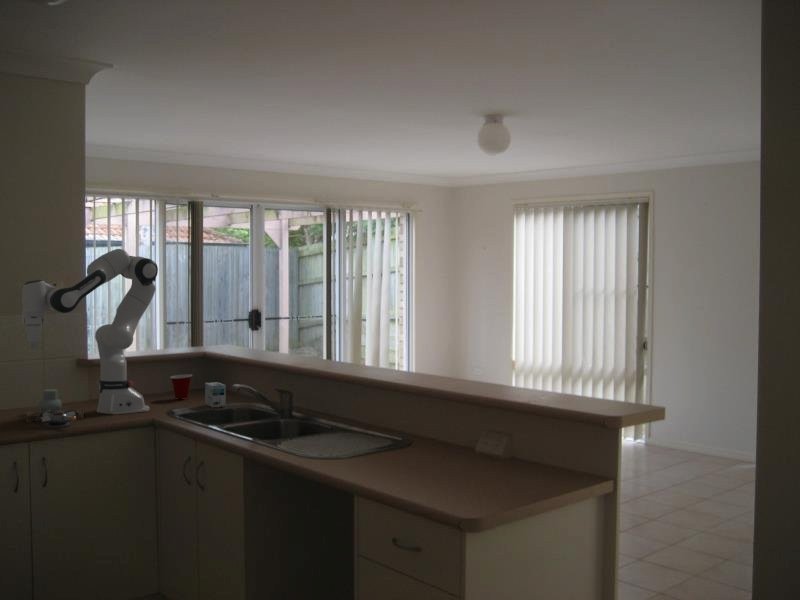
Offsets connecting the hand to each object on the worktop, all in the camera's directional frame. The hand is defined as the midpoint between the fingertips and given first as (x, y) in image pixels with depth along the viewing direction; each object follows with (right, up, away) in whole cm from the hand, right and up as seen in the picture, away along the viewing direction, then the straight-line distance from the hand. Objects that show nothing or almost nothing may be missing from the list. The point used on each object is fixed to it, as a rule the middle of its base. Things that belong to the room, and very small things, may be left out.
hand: (34, 352), depth 314 cm
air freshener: (-4, -29, +24) cm, 37 cm away
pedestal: (+13, -30, -6) cm, 33 cm away
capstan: (+13, -28, -6) cm, 32 cm away
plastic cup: (+43, -28, +63) cm, 81 cm away
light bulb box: (+64, -29, +46) cm, 84 cm away
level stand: (+4, -29, +10) cm, 31 cm away
